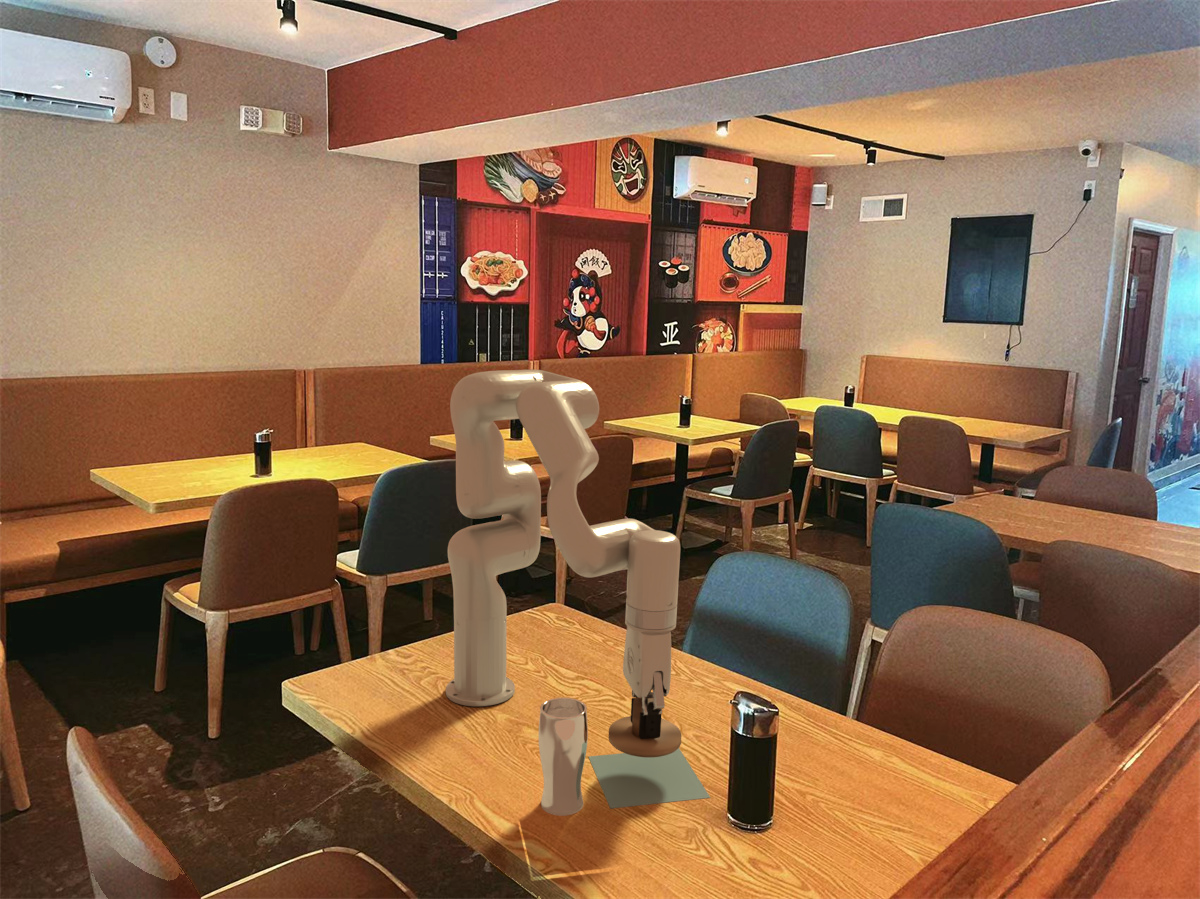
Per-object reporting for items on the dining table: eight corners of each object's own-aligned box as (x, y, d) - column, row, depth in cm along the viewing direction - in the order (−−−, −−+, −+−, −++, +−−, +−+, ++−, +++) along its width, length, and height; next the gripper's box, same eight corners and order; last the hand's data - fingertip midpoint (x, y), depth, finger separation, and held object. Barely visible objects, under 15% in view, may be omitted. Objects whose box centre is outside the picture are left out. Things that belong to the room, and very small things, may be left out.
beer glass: (580, 822, 123) (582, 721, 121) (532, 816, 125) (532, 715, 122) (591, 796, 130) (592, 699, 128) (544, 790, 131) (546, 694, 129)
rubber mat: (588, 758, 141) (588, 756, 141) (678, 750, 144) (678, 747, 144) (610, 810, 126) (610, 808, 126) (710, 800, 130) (710, 797, 130)
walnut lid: (601, 724, 139) (602, 688, 138) (668, 718, 141) (670, 683, 140) (618, 760, 128) (620, 721, 127) (691, 754, 131) (693, 716, 130)
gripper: (613, 596, 138) (608, 706, 142) (641, 637, 122) (635, 760, 126) (659, 594, 140) (653, 703, 143) (693, 635, 124) (686, 756, 127)
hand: (645, 728), depth 134 cm, fingers closed on walnut lid, 4 cm apart
